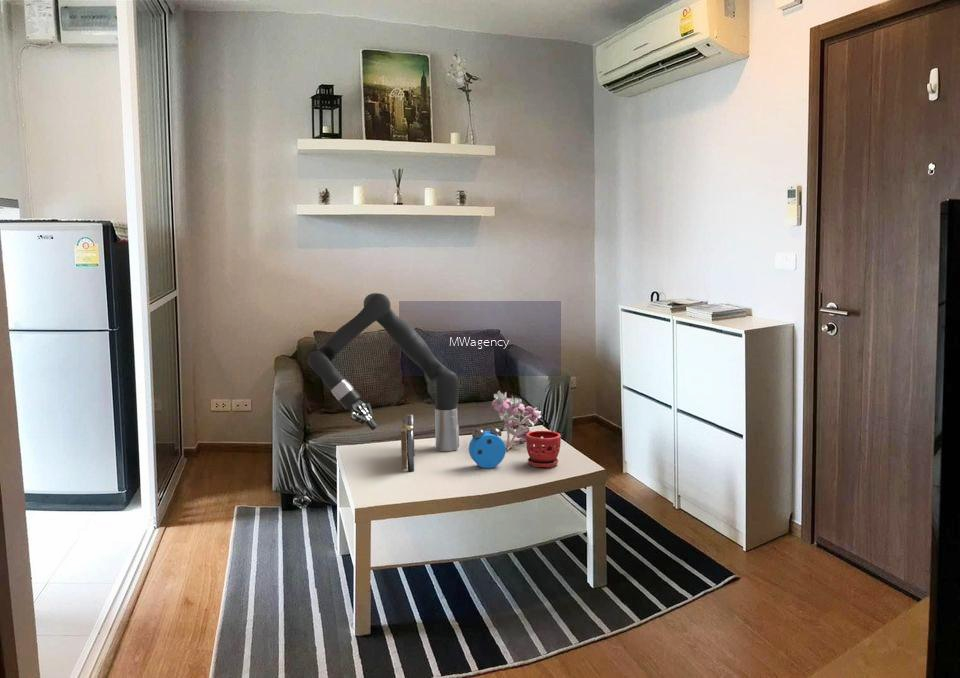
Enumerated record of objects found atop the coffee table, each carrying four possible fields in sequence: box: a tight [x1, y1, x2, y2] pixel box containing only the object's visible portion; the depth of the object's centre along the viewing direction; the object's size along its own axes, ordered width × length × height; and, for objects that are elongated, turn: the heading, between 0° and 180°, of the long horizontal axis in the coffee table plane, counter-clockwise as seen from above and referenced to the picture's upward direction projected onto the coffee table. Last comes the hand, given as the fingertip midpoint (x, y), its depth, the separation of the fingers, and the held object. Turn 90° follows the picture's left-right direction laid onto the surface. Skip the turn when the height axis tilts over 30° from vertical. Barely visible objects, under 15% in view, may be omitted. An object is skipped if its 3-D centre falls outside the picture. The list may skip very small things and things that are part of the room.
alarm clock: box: [468, 427, 507, 469], centre depth 269 cm, size 13×6×15 cm, turn 107°
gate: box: [400, 418, 408, 471], centre depth 274 cm, size 19×2×15 cm, turn 4°
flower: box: [491, 390, 542, 451], centre depth 297 cm, size 20×22×25 cm
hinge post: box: [406, 413, 416, 456], centre depth 284 cm, size 3×3×17 cm
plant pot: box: [525, 430, 562, 468], centre depth 271 cm, size 13×13×12 cm
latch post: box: [406, 425, 415, 473], centre depth 266 cm, size 3×3×17 cm
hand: (375, 428), depth 272 cm, fingers closed
